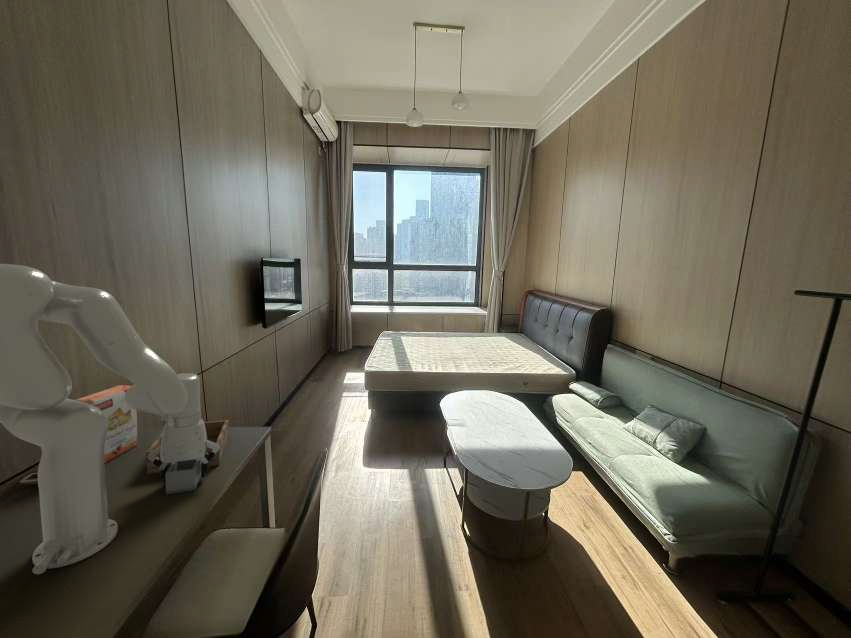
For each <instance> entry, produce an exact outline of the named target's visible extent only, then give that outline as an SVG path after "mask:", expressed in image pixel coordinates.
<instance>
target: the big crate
mask: <svg viewBox="0 0 851 638" xmlns="http://www.w3.org/2000/svg"><path fill="white" fill-rule="evenodd" d="M204 424H205V428H206V434H207V440H209V441H211V442H214V443H216V444H219V445H220V448H219V450H218V451H217V453H216V454H215V455H214V457H213V458H212V459H211V460H209V468H210V467H216V466H217V465H218V466H220V465H219V464H221V461H222V459H223V456H224V454H225V451H226V448H227V445H226V444H228V442H229V440H228V439H229V438H230V420H229V419H224V420H223V419H222V420H212V421H204ZM161 438H162V432H161V433H160V434H159V435H158V437H157V438H156V440H155V441H154V442H153V443H152V444H151V446H150V447H149V448H148V449H147V450H146V452H145V455H146V458H145V459H146V475H147V476H150V475H151V476H152V475H157V474H158V475H159V474H162V473H161V470H160V469H159V467H158V466H156V465H154V464H153V462H152V461H151V460H149V459H148V458H147V456H148V455H149V453H151V452H152V451H154V450H156V449H157V448H159V447H160V446H161ZM227 441H228V442H227ZM225 447H226V448H225ZM212 450H213V449H211V448H209V447H207V450H206V452H207V453H208V454H209V453H210V452H211V451H212ZM224 450H225V451H224ZM223 453H224V454H223ZM157 456H158V457H159V458H160V453H159V454H158V455H157ZM171 464H172V463H170V465H171Z"/></svg>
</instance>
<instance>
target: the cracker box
mask: <svg viewBox="0 0 851 638" xmlns="http://www.w3.org/2000/svg"><path fill="white" fill-rule="evenodd" d="M131 386H132V385H123V384H120V385H115V386H113V387H110V388H108V389H107V388H106V389H103V390H101V391H98V392H95V393H92V394H89V395H86V396H82V397H79V398H77V399H75V400H76V401H80V402H84V403H88V404H91V405H93V406H95V407H97V408H99V409H100V410H101V411H103V413H104V414H105V415H106V417H107V420H108V430H107V435H106V440H105V448H104V462H105V464H106V463H107V462H110V461H111V460H114V459H115V458H116V457H119V456H121V455H123V454H124V453H125V452H128V451H129V450H131V449H133V448H135V447H137V446H138V418H137V417H138V416H137V413H138V412H137V411H138V410H135V409H133V408H131V407H129V406H128V405H127V404H126V402H125V399H124V397H125V393H126V391H127V390H128V389H129V388H130V387H131Z"/></svg>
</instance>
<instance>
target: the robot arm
mask: <svg viewBox="0 0 851 638" xmlns="http://www.w3.org/2000/svg"><path fill="white" fill-rule="evenodd" d="M39 320H40V321H47V322H51V323H58V324H63V325H69V326H70V327H71V328H72V329H73V330H74V332H75V333H76V334H77V335H78V336H79V338H80V339H81V341H82V342H83V343H84V345H86V347H87V349H89V352H90V353H91V354H92V355H93V356H94V358H95V359H96V361H97V362H98V363H99V364H101V365H102V366H103V367H105V368H107V369H108V370H110V371H112V372H113V373H116V374H117V375H120V376H122V377H123V378H125V379H127V380H129V381H130V382H132V383H133V385H130V386H131V387H130V388H129V389H128V390H127V391H126V393H125V397H124V399H125V402H126V404H127V405H128V406H129V407H131V408H133V409H135V410H137V411H140V412H142V413H147V414H148V413H149V414H152V415H156V416H160V422H164V423H165V425H163V428H162V432H161V433H162V438H161V446H160V447H159V448H157V449H156V450H154V451H152V452H151V453H149V455H148V456H147V458H148V459H149V460H151V461H152V462H153V464H154V465H156V466H158V467H159V469H160V470H161V473H160V474H161V479H162V480H163V484H166V477H165V474H166V472H167V470H168V469H169V467H170V463H173V462H181V461H188V460H195V459H200V460H201V461H202V464H201V478H205V476H206V474H207V473H208V472H209V470H210V469H209V468H210V467H209V460H211V459H212V458H213V457H214V455H215V454H216V453H217V451H218V450H219V448H220V445H219V444H216V443H214V442H211V441H209V440H207V434H206V428H205V424H204V422H205V420H204V419H203V418H202V416H201V415H202V412H201V410H202V409H201V379H200V376H199V375H197V374H196V373H190V372H187V373H186V372H185V373H178V374H177V372H176V371H175V370H174V369H173V368H172V366H171V365H170V364H168V363H167V362H166V361H165V360H164V359H163V358H162V357H160V356H159V355H158V354H157V353H156V352H155V351H154V350H152V348H150V347H149V346H148V345H147V344H145V343H144V341H143V340H142V338H141V336H140V335H139V334H138V332H137V331H136V329H135V328H134V326H133V324H132V322H131V321H130V319H129V318H128V316H127V315H126V313H125V311H124V310H123V309H122V306H121V305H120V303H118V301H117V299H116V298H115V297H114V296H113V295H112V294H111V293H109V292H108V291H106V290H104V289H101V288H96V287H88V286H80V285H79V286H78V285H71V284H67V283H62V282H58V281H54V280H52V279H51V278H50V277H49V275H47V274H46V273H44V272H42V271H41V270H39V269H37V268H34V267H31V266H27V265H20V264H11V263H10V264H9V263H0V423H1V425H2V427H4V428H5V429H6V430H7V431H8V432H10V434H12V435H13V436H14V437H16V438H18V439H19V440H22V441H24V442H28V443H30V444H34V445H36V446H38V447H40V449H41V457H40V460H39V463H38V467H37V468H38V469H37V486H38V495H39V508H40V519H41V520H40V521H41V533H42V542H41V543H39V545H38V546H37V547H36V548H35V550H34V551H33V553H32V559H31V560H32V564H33V565H34V567H33V568H32V573H33V574H35V575H41V574H44V573H45V571H46V570H47V569H48V570H49V569H57V568H63V567H66V566H69V565H73V564H76V563H78V562H80V561H83V560H85V559H87V558H89V557H91V556H93V555H94V554H97V553H98V552H99V551H101V550H102V549H104V548H105V547H107V545H109V544H110V543H111V542H112V541H113V540H114V539H115V537H116V536H117V533H118V532H119V525H118V523H117V522H116V520H114V519H111V518H109V516H108V500H107V499H108V498H107V482H106V480H107V479H106V478H107V477H106V466H105V464H106V463H105V462H104V448H105V440H106V435H107V430H108V420H107V417H106V415H105V414H104V413H103V411H101V410H100V409H99V408H97V407H95V406H93V405H91V404H88V403H84V402H80V401H76V399H72V398H68V397H69V396H70V394H71V392H72V390H73V381H72V378H71V376H70V374H69V372H68V371H67V370H66V368H64V367H65V366H63V365H62V363H61V362H60V361H59V360H58V358H57V356H56V355H55V354H54V353H53V351H52V350H51V348H50V347H49V346H48V345H47V343H46V341H45V340H44V338H43V336H42V335H41V333H40V331H39V326H38V324H39ZM207 447H209V448H211V449H213V450H212V451H211V452H210V453H209V454H208V453H207V452H206V450H207ZM159 453H160V458H159V457H158V456H157V455H158V454H159Z"/></svg>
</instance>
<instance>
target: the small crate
mask: <svg viewBox="0 0 851 638" xmlns="http://www.w3.org/2000/svg"><path fill="white" fill-rule="evenodd" d="M201 464H202V461H201V460H200V459H195V460H188V461H181V462H173V463H172V464H171V465H170V467H169V469H168V470H167V472H166V474H165V477H166V483H165V495H173V494H179V493H185V492H186V491H187V492H192V490H193V491H196V490H197V487H198V486H199V483H200V480H201V478H202V477H201Z"/></svg>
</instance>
